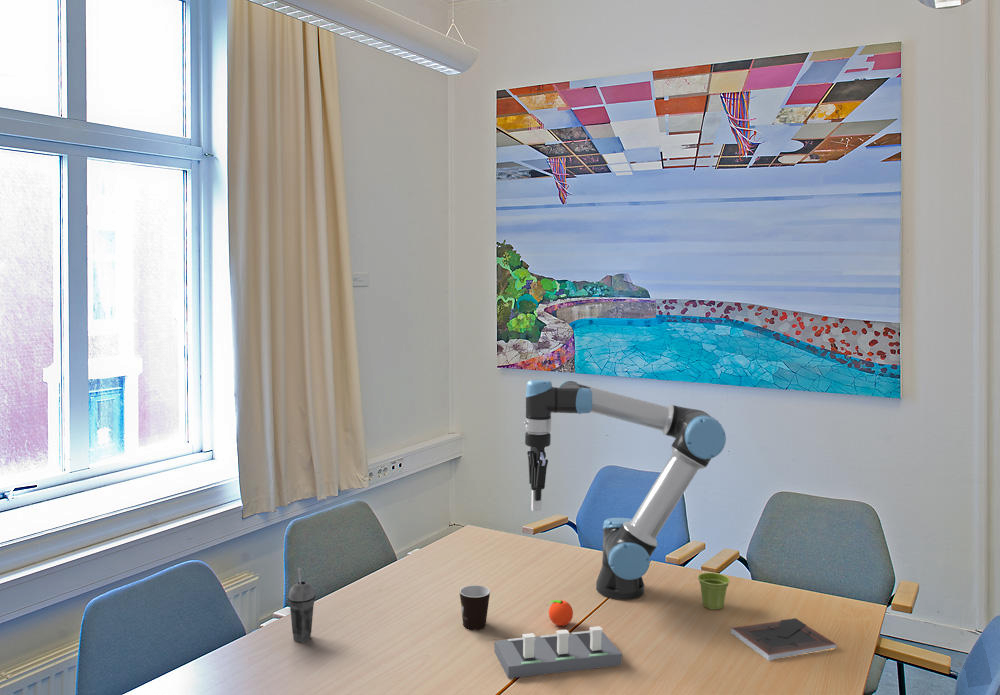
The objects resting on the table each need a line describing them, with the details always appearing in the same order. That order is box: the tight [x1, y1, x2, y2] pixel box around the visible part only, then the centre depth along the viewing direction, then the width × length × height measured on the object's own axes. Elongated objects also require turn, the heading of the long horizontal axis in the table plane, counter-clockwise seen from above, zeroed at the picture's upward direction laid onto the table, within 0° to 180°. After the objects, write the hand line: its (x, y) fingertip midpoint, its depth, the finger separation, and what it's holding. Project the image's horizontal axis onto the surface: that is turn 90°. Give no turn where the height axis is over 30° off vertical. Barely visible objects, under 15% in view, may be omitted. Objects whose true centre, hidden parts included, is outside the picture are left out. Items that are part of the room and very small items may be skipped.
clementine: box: [547, 599, 574, 627], centre depth 221 cm, size 8×7×7 cm
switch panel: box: [493, 630, 623, 679], centre depth 201 cm, size 30×14×3 cm, turn 105°
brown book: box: [730, 618, 837, 661], centre depth 213 cm, size 16×2×22 cm
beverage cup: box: [287, 567, 316, 643], centre depth 210 cm, size 7×7×20 cm
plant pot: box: [697, 572, 731, 611], centre depth 236 cm, size 9×9×9 cm
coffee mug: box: [459, 584, 491, 631], centre depth 221 cm, size 12×9×10 cm
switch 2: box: [588, 625, 604, 651], centre depth 199 cm, size 3×2×6 cm
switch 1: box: [521, 632, 536, 658], centre depth 195 cm, size 3×2×6 cm
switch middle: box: [555, 629, 570, 655], centre depth 197 cm, size 3×2×6 cm
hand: (536, 510), depth 232 cm, fingers closed
